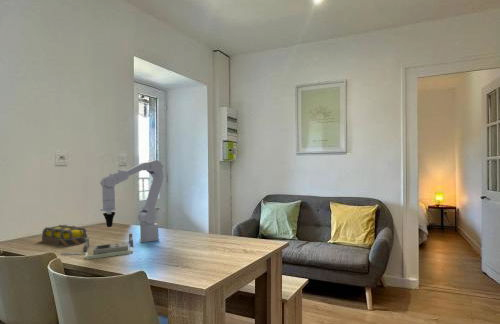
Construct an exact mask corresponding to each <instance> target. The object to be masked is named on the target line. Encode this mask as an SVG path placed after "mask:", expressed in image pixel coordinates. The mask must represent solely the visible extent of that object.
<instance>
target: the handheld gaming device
mask: <svg viewBox="0 0 500 324" xmlns="http://www.w3.org/2000/svg"><path fill="white" fill-rule="evenodd" d="M128 250H129V245H128V243H127V242H121V243H109V244H108V243H107V244H99V245H94V246H93V250H92V253H93V254H92V255H96V254H104V253H112V252H120V251H128Z"/></svg>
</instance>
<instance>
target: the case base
mask: <svg viewBox="0 0 500 324" xmlns="http://www.w3.org/2000/svg"><path fill="white" fill-rule="evenodd" d="M128 240H129V241H128V243H130V244H129V245H130V247H134V239H133V232H129V233H128ZM83 247H84V249H83V250H84V252H88V249H89V247H90V237H87V238H85V242H84V245H83Z"/></svg>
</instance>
